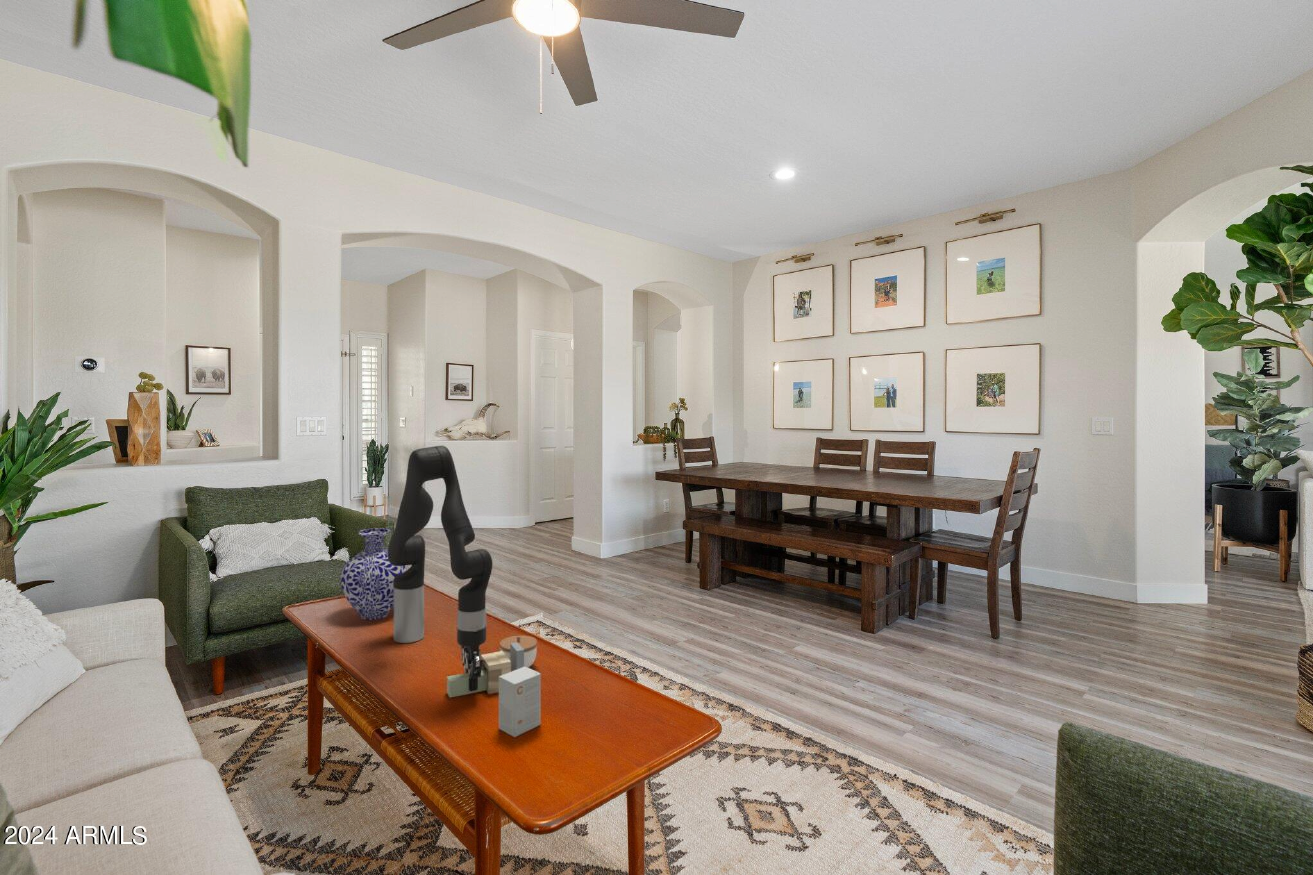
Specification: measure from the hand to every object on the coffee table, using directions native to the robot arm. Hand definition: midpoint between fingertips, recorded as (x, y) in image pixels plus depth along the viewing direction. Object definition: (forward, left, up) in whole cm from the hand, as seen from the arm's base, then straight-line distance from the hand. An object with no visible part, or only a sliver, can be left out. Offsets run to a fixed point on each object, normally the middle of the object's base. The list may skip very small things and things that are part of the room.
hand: (471, 687), depth 177 cm
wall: (0, +13, -1) cm, 13 cm away
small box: (+24, +6, -1) cm, 25 cm away
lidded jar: (-8, +16, -1) cm, 18 cm away
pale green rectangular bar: (0, 0, -1) cm, 1 cm away
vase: (-73, -15, -1) cm, 75 cm away
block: (0, +7, -1) cm, 7 cm away
